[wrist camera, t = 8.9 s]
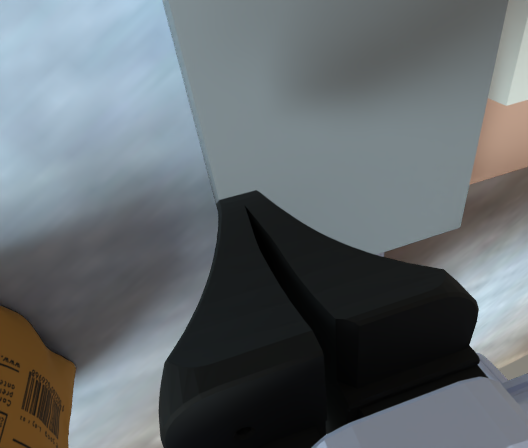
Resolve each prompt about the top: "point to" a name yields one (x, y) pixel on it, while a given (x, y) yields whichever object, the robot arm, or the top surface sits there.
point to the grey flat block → (342, 107)
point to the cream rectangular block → (512, 57)
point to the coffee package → (32, 388)
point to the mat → (501, 141)
